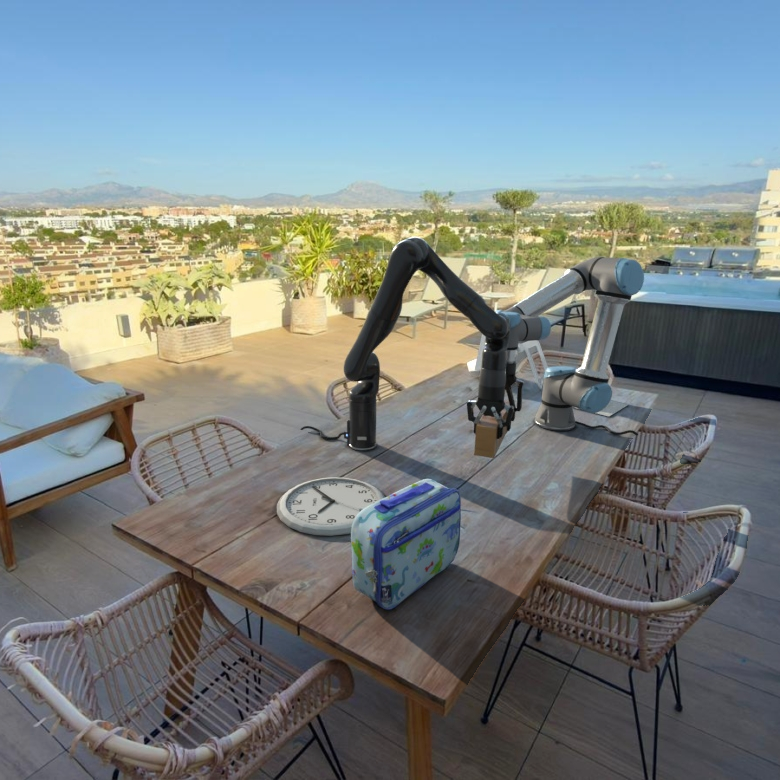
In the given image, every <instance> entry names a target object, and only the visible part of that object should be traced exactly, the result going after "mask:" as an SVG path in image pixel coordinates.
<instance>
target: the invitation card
mask: <svg viewBox="0 0 780 780" xmlns="http://www.w3.org/2000/svg"><path fill="white" fill-rule="evenodd" d="M628 406H629V404H627V403H623V402H618V401H614V400H610V402H609V403H608V405H607V406H606V407H605V408H603V410H601V411H600V412H597V413H595V414H596V415H600V416H604V417H608V418H609V417H611V416H613V415H614V414H616V413H617V412H619V411H621V410H623V409H624V408H626V407H628ZM573 409H575V410H579V409H578V408H576V407H574V406H573Z"/></svg>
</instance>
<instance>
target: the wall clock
mask: <svg viewBox="0 0 780 780" xmlns="http://www.w3.org/2000/svg"><path fill="white" fill-rule="evenodd" d="M385 497H386V496H385V494H384V493H383V492H382V491H381V490H380V489H379V488H377V487H376V486H374V485H372V484H371V483H369V482H365V481H362V480H359V479H355V478H349V477H338V476H337V477H335V476H333V477H332V476H331V477H322V478H317V479H312V480H307V481H305V482H302V483H299V484H297V485H295V486H293V487H292V488H290V489H288V490H287V491H286V492H285V493H284V494H283V495H281V496H280V498H279V499H278V502H277V503H276V515H277V517H278V518H279V520H280V521H281V522H282V523H283V524H285V525H286V526H287V527H288V528H290V529H293V530H295V531H297V532H299V533H303V534H308V535H312V536H327V537H328V536H329V537H331V536H332V537H333V536H342V535H350V534H351V529H352V524H353V521H354V519H355V517H356V516H357V514H358V513H359V512H360V511H361V510H362V509H364V508H366V507H367V506H369V505H371V504H374V503H375V502H377V501H379V500H381V499H383V498H385Z"/></svg>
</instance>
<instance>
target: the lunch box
mask: <svg viewBox="0 0 780 780" xmlns="http://www.w3.org/2000/svg"><path fill="white" fill-rule="evenodd" d="M461 499H462V498H461V493H460V491H459V490H458V489H457V488H454V487H451V488H449V487H447V486H446V485H444V484H441V483H440V482H437V481H436V480H434V479H431V478H424V479H421V480H418V481H416V482H414V483H412V484H410V485H408V486H405V487H404V488H401V489H399V490H397V491H395V492H393V493H392V494H389V495H387V496H385V498H383V499H381V500H379V501H377V502H375V503H374V504H371V505H369V506H367V507H366V508H364V509H362V510H361V511H360V512H359V513H358V514H357V516H356V517H355V519H354V521H353V524H352V529H351V533H350V547H351V548H350V552H351V576H352V584H353V588H354V590H356V591H357V592H359V593H360V594H363V595H365V596H367V597H368V598H369V599H371V600H372V601H374V602H376V604H377V606H378V607H379V608H382V609H384V610H386V611H387V610H388V611H390V610H393V609H394V608H396V607H397V606H398V605H400V604H401V603H402V602H403V601H405V600H406V599H407V598H408V597H409V596H411V595H412V594H413V593H415V592H417V590H419V589H420V588H422V587H423V586H424V585H425V584H426V583H428V581H430V580H431V579H432V578H434V577H435V576H438V574H440V573H441V572H443V571H445V570H446V569H447V568H448V567H449V566H451V564H452V563H453V562H454V560H455V558H456V556H457V554H458V551H459V548H460V541H461V522H462V521H461V519H462V515H461V513H462V512H461V510H462V509H461V508H462V506H461V505H462V504H461V503H462V502H461Z"/></svg>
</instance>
